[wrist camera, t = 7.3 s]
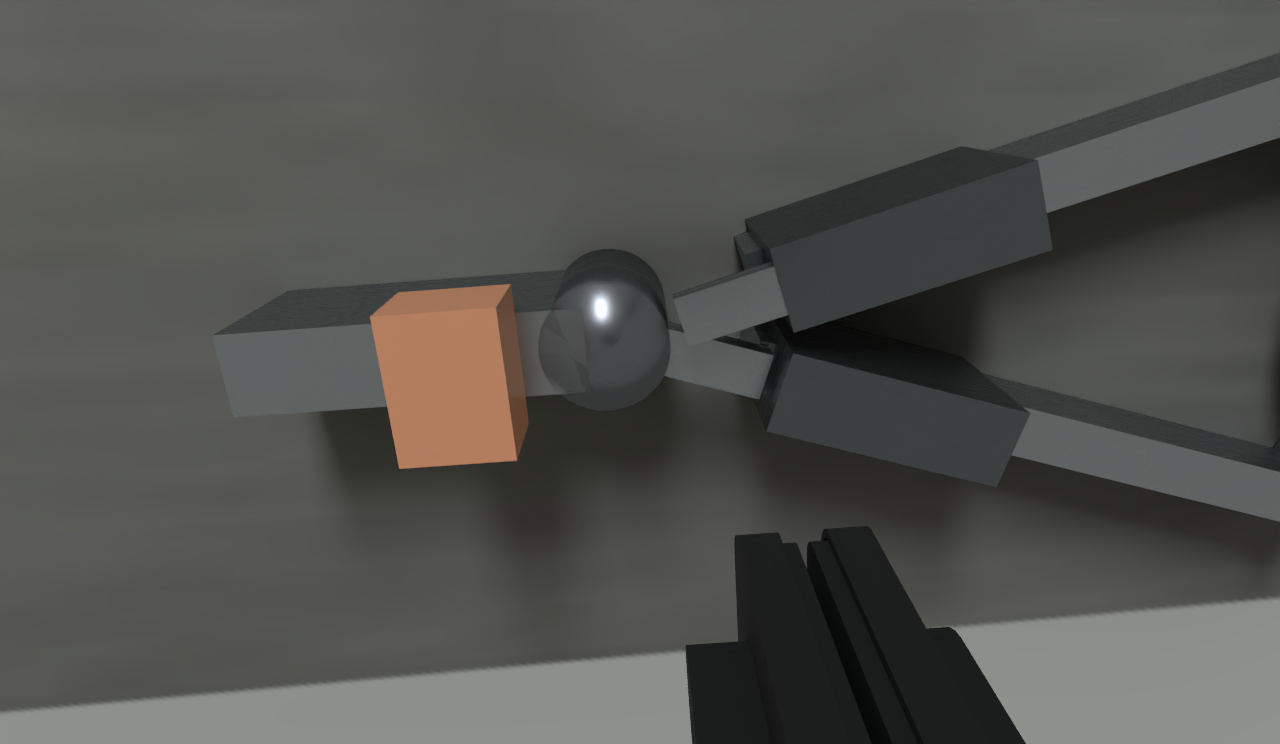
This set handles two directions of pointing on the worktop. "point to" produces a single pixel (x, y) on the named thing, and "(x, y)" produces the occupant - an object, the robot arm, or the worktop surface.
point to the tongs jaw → (969, 207)
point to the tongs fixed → (748, 383)
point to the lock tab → (452, 375)
